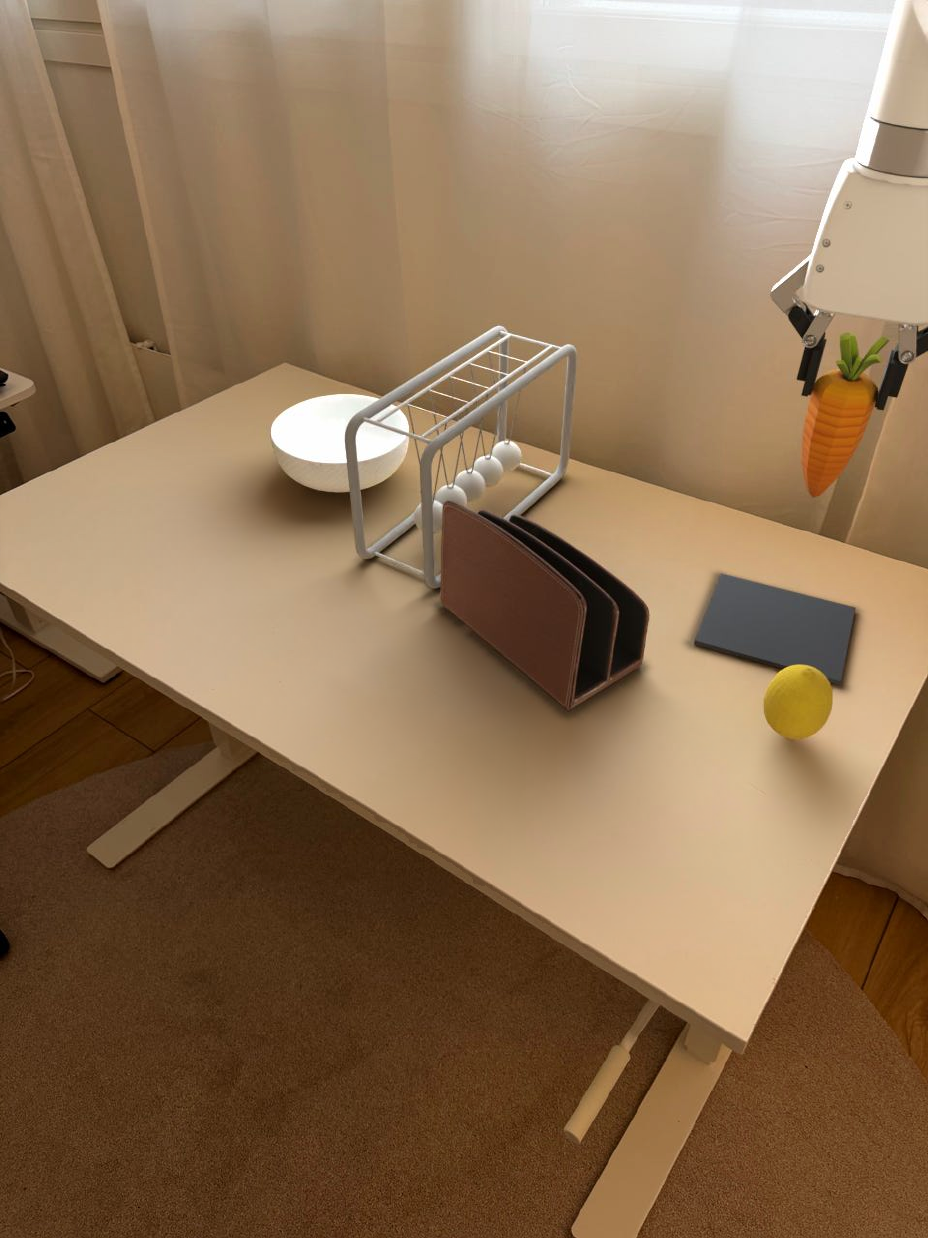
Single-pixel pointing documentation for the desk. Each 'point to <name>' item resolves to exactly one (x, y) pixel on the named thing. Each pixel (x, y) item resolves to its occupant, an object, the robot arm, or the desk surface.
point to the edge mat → (777, 626)
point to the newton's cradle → (485, 468)
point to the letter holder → (540, 602)
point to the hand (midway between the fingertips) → (844, 393)
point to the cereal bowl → (337, 442)
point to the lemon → (798, 701)
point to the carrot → (838, 415)
